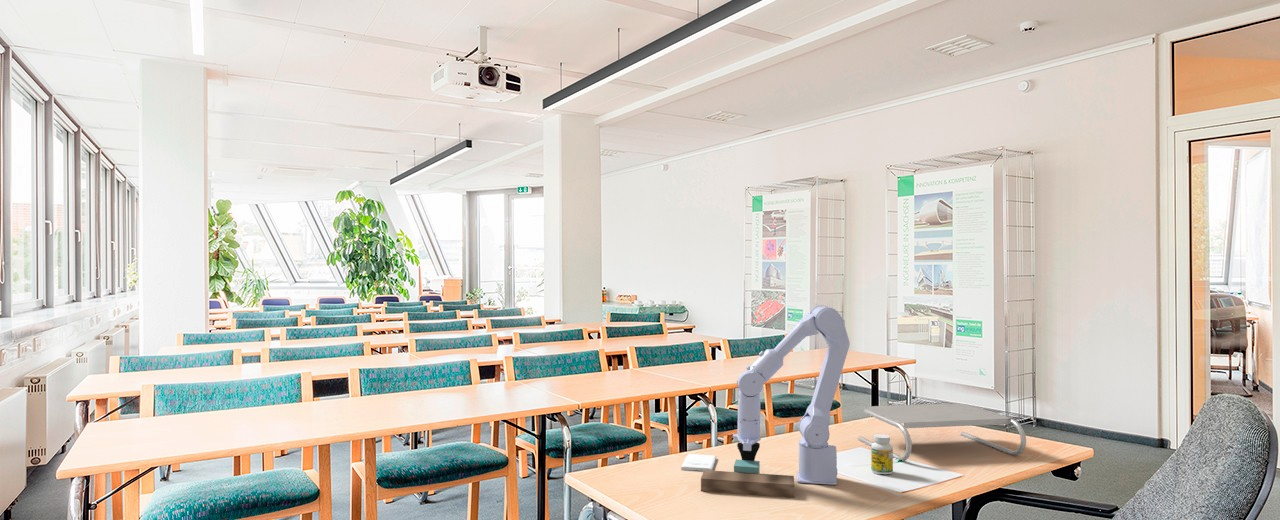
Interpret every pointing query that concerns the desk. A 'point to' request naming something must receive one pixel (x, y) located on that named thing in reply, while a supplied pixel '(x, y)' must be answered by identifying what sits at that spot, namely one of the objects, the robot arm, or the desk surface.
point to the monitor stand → (941, 421)
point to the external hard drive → (699, 462)
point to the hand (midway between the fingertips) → (748, 471)
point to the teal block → (747, 466)
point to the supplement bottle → (882, 455)
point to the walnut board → (747, 483)
